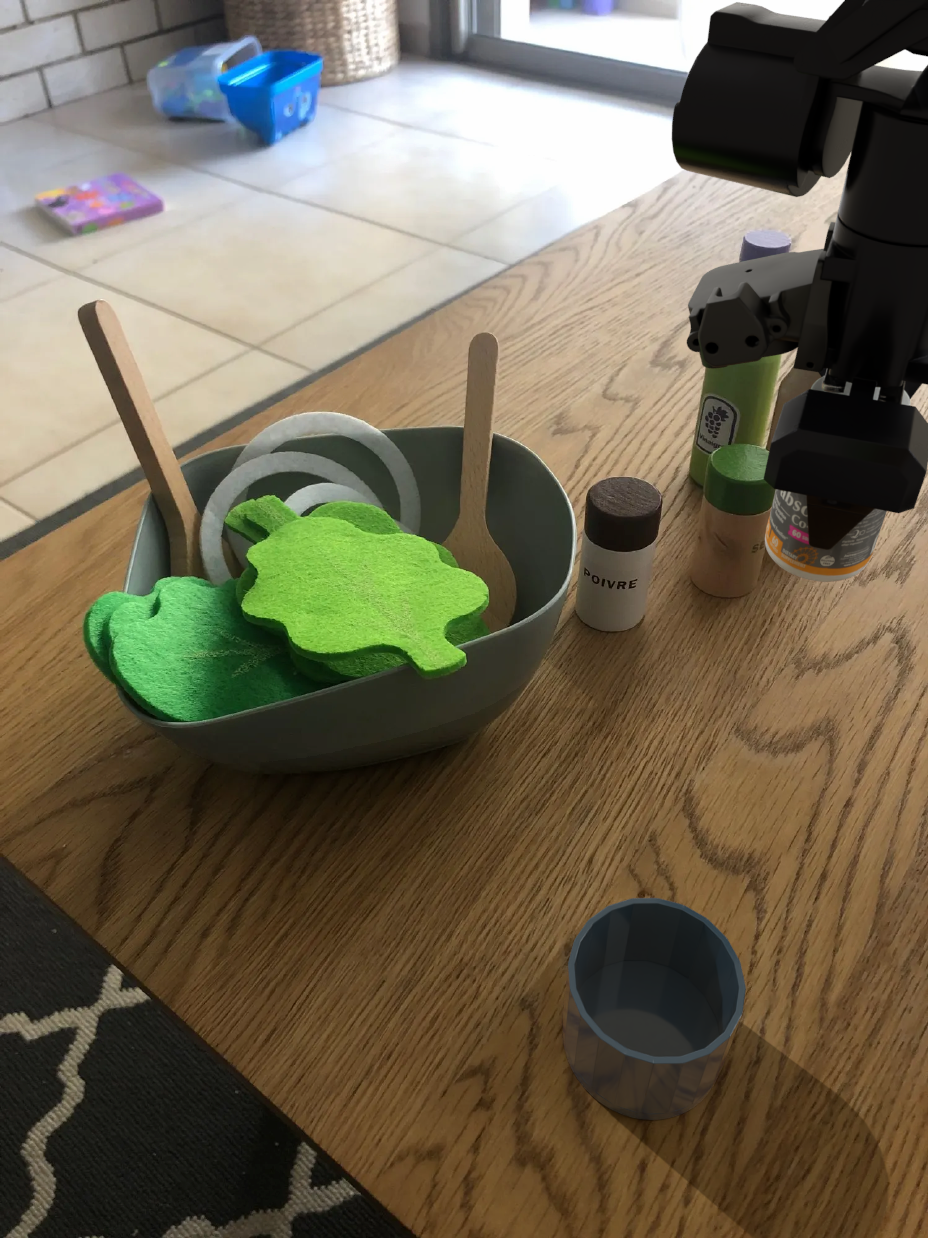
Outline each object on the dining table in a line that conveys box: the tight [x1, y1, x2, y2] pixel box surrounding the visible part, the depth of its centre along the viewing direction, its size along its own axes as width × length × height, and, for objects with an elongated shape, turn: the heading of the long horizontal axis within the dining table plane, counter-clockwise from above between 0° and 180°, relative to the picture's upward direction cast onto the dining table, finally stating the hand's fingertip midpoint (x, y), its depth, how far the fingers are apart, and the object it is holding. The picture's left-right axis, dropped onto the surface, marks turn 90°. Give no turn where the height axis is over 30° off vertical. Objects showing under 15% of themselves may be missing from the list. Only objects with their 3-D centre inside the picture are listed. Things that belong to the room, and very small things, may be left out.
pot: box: [562, 897, 747, 1121], centre depth 44 cm, size 7×7×6 cm
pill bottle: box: [764, 376, 912, 583], centre depth 52 cm, size 6×6×10 cm
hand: (827, 512), depth 53 cm, fingers closed on pill bottle, 6 cm apart
